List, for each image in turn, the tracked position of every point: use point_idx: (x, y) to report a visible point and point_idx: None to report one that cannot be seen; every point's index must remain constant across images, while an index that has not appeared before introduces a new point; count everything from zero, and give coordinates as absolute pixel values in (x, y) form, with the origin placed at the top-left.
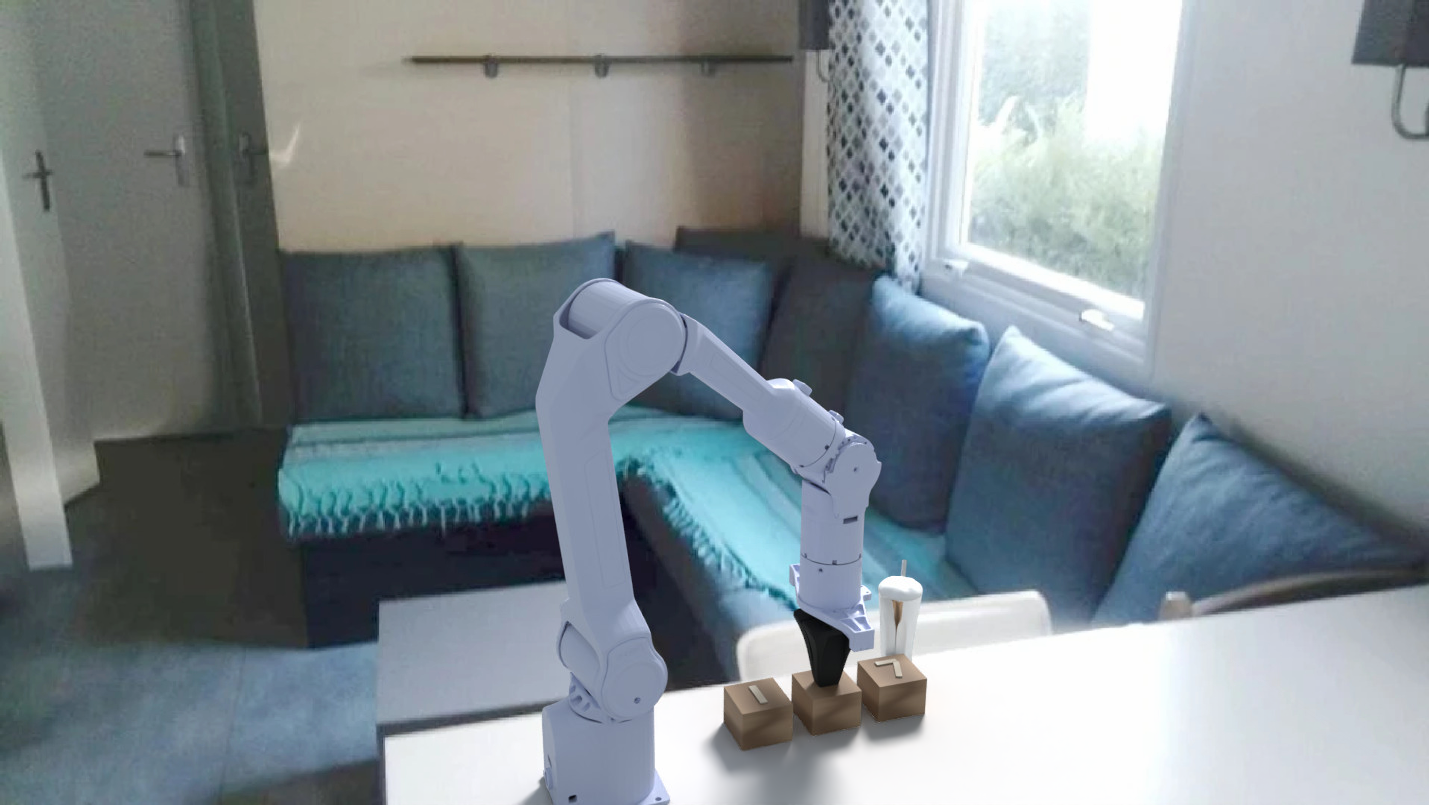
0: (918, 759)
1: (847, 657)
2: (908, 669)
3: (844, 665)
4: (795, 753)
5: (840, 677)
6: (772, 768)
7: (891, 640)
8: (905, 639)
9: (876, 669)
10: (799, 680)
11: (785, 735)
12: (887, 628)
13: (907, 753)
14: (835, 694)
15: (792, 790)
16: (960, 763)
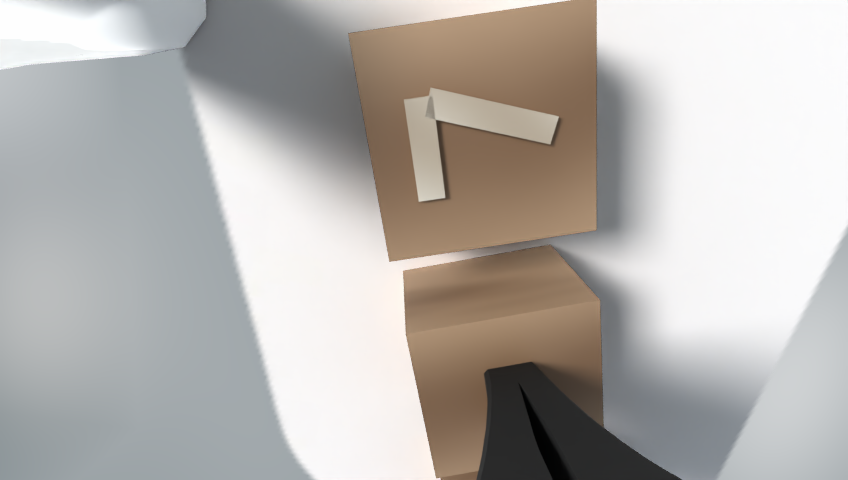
0: (747, 130)
1: (600, 425)
2: (499, 62)
3: (573, 402)
4: (611, 411)
5: (545, 375)
6: None
7: (150, 24)
8: None
9: (467, 205)
10: (479, 464)
11: None
12: (105, 42)
13: (710, 152)
14: (593, 384)
15: (729, 436)
16: (819, 4)
